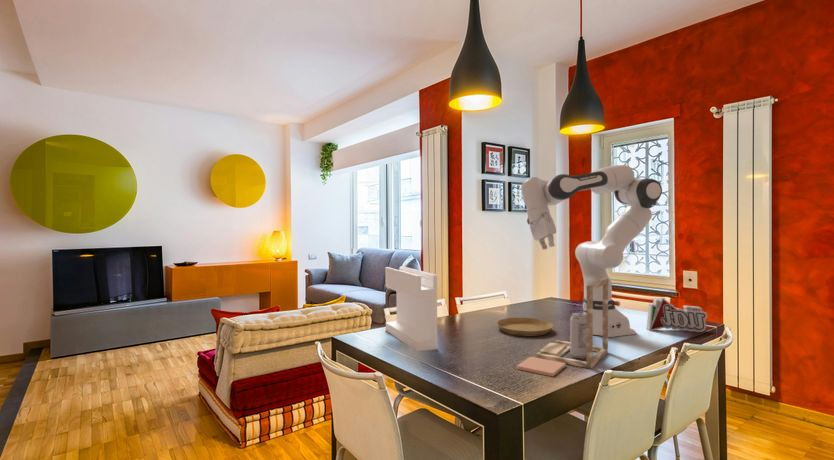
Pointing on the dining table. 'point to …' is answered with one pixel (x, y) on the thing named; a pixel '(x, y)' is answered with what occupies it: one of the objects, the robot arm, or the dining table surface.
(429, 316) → the block
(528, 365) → the terracotta tile
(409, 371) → the dining table surface
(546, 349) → the beige rectangular tray
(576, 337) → the energy drink can
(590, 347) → the birch rack
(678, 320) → the decorative sign
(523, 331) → the plant saucer
